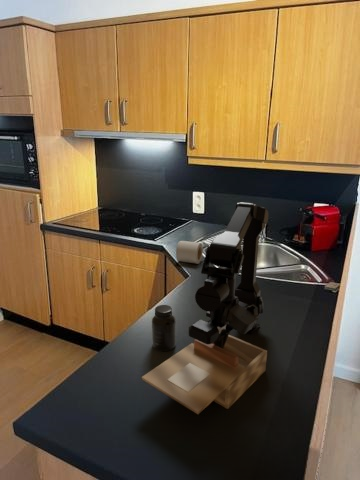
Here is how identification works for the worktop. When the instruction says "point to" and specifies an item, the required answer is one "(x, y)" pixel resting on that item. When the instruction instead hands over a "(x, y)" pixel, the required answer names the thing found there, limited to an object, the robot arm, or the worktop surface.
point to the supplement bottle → (163, 328)
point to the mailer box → (248, 359)
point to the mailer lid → (196, 374)
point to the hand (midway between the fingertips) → (219, 350)
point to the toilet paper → (189, 252)
